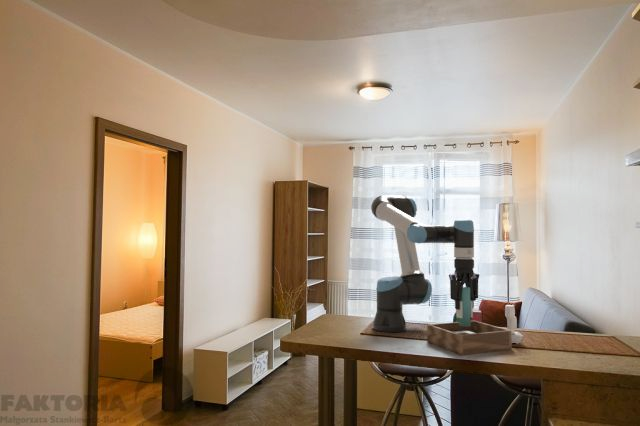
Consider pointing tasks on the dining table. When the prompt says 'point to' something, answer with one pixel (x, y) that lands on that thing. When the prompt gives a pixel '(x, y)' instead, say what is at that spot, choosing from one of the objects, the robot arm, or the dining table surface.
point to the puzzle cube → (474, 316)
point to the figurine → (512, 323)
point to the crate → (469, 337)
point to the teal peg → (465, 307)
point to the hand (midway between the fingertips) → (464, 317)
